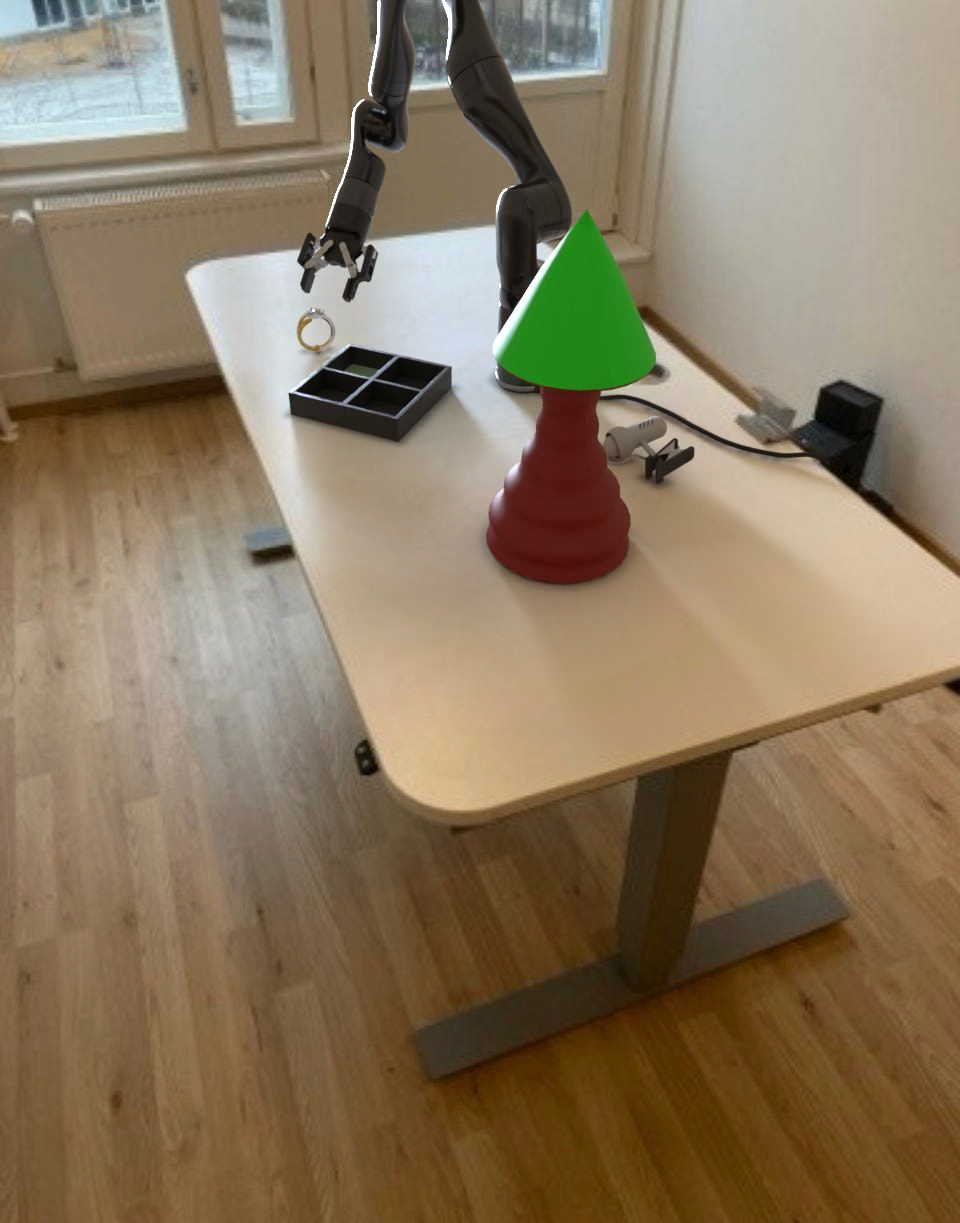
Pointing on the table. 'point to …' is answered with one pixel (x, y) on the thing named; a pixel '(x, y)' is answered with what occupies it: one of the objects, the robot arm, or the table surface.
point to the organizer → (371, 391)
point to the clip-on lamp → (647, 447)
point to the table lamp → (568, 414)
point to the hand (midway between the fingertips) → (325, 296)
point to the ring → (312, 315)
